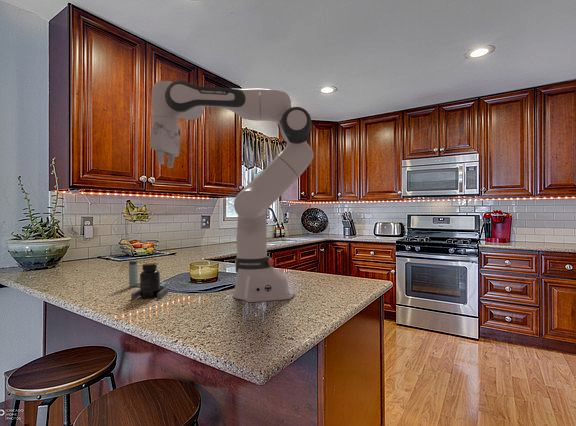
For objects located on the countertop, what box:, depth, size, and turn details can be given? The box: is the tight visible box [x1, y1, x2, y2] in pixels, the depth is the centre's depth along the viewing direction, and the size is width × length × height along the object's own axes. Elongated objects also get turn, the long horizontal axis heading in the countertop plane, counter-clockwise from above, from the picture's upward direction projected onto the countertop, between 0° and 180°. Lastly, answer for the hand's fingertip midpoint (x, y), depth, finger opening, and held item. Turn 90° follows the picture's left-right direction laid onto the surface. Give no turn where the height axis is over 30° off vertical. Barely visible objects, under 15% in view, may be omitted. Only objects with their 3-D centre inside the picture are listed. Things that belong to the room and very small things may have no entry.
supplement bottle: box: [139, 262, 161, 299], centre depth 120 cm, size 7×7×12 cm
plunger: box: [128, 260, 168, 291], centre depth 130 cm, size 18×13×10 cm
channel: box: [130, 287, 169, 300], centre depth 120 cm, size 10×8×2 cm
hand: (165, 165), depth 118 cm, fingers open, 8 cm apart
